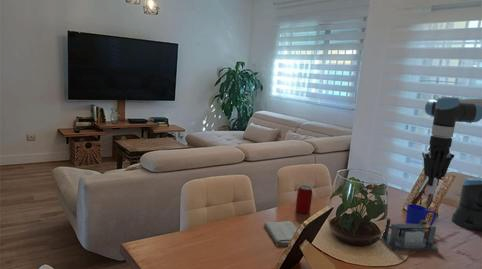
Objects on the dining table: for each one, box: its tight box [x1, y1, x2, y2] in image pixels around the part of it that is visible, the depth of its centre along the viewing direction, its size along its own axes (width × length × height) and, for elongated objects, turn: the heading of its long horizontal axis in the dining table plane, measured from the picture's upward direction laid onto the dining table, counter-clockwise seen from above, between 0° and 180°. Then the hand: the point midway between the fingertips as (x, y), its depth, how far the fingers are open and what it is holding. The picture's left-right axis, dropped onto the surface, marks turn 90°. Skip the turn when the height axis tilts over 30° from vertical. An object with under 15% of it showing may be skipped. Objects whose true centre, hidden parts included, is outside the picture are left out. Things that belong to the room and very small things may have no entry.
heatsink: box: [380, 217, 439, 251], centre depth 143 cm, size 20×12×9 cm, turn 99°
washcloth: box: [263, 220, 298, 247], centre depth 140 cm, size 12×18×3 cm, turn 14°
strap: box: [387, 222, 430, 230], centre depth 142 cm, size 19×4×1 cm, turn 99°
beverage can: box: [295, 185, 313, 214], centre depth 166 cm, size 7×7×12 cm
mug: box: [405, 203, 437, 226], centre depth 158 cm, size 8×12×10 cm
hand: (431, 193), depth 142 cm, fingers closed
